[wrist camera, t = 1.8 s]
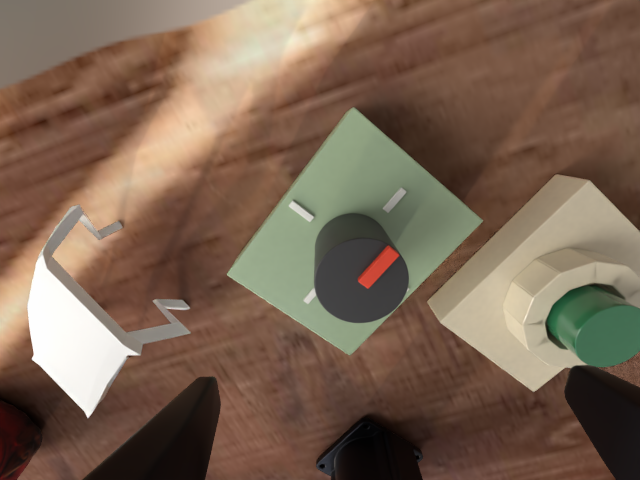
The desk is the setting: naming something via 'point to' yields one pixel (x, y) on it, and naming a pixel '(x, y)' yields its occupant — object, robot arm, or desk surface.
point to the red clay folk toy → (16, 441)
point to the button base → (540, 277)
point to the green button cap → (596, 326)
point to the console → (343, 198)
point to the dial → (358, 269)
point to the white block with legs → (83, 324)
